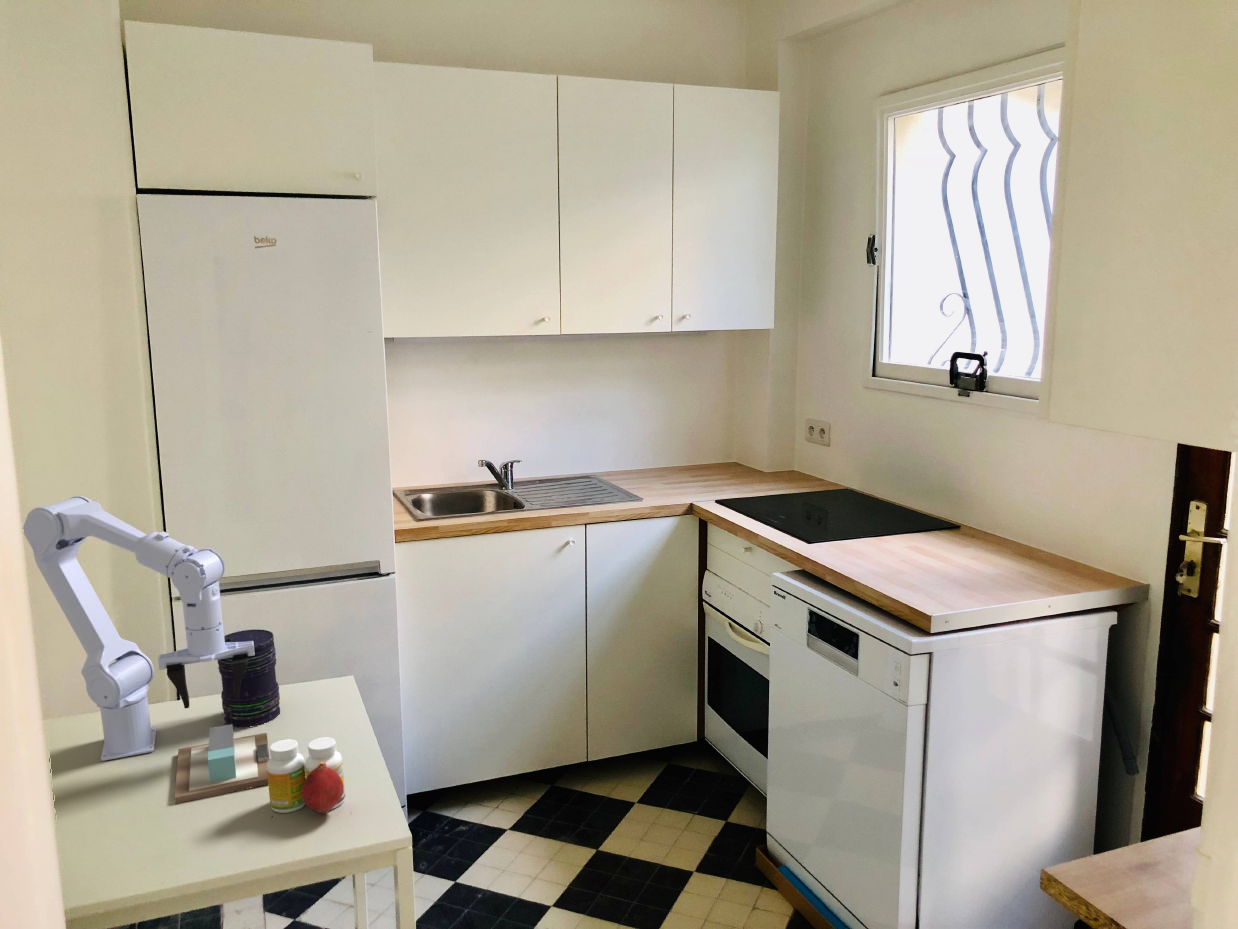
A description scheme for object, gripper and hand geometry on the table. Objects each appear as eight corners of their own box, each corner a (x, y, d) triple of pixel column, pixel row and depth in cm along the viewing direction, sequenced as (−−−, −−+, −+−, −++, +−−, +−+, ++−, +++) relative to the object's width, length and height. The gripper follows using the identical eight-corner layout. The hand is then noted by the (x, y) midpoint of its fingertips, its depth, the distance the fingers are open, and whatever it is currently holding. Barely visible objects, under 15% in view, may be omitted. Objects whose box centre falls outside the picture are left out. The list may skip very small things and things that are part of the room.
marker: (210, 745, 161) (208, 724, 160) (234, 740, 162) (232, 720, 161) (210, 782, 148) (207, 760, 148) (236, 777, 150) (234, 755, 149)
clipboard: (179, 754, 160) (178, 744, 160) (267, 738, 165) (266, 728, 165) (175, 803, 145) (174, 792, 144) (272, 783, 150) (271, 773, 150)
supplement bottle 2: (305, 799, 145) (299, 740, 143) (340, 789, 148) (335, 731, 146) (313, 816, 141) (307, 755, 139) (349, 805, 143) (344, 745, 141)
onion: (309, 827, 137) (304, 776, 136) (300, 809, 142) (296, 759, 141) (349, 815, 140) (345, 765, 139) (339, 798, 145) (335, 749, 144)
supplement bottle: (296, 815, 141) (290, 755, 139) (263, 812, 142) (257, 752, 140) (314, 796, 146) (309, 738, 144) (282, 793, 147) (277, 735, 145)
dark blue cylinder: (286, 702, 180) (279, 627, 177) (274, 726, 170) (267, 647, 167) (231, 706, 178) (223, 631, 175) (216, 730, 169) (208, 651, 166)
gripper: (153, 639, 149) (163, 719, 152) (251, 625, 155) (259, 703, 157) (156, 625, 156) (165, 702, 158) (250, 612, 161) (257, 687, 164)
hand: (212, 701), depth 158 cm, fingers open, 7 cm apart
